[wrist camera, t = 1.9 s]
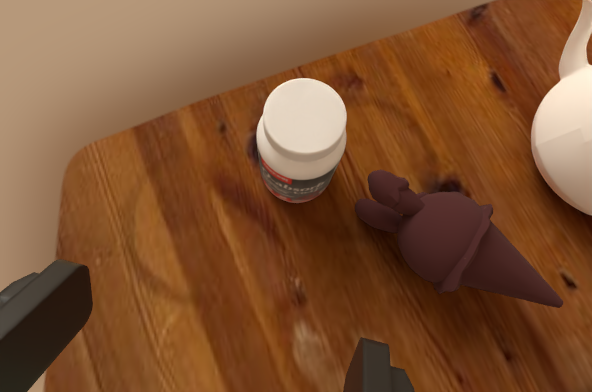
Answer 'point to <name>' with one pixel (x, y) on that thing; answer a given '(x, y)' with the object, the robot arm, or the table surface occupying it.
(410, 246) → the icecream
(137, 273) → the table surface
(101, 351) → the table surface
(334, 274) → the table surface
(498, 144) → the table surface
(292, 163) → the pill bottle
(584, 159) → the teapot
